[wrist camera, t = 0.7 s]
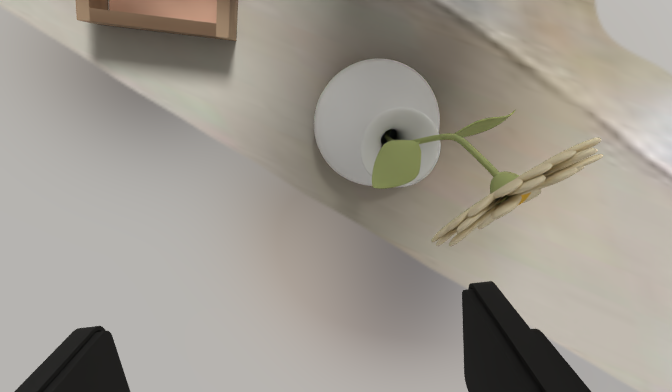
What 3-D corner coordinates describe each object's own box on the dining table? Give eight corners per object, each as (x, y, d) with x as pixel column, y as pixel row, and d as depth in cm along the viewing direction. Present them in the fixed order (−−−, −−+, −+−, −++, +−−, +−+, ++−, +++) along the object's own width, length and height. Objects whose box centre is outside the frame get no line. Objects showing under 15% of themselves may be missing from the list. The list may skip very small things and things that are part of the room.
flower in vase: (327, 191, 40) (329, 363, 16) (302, 72, 37) (259, 70, 13) (458, 165, 40) (658, 304, 16) (445, 43, 37) (671, -15, 13)
